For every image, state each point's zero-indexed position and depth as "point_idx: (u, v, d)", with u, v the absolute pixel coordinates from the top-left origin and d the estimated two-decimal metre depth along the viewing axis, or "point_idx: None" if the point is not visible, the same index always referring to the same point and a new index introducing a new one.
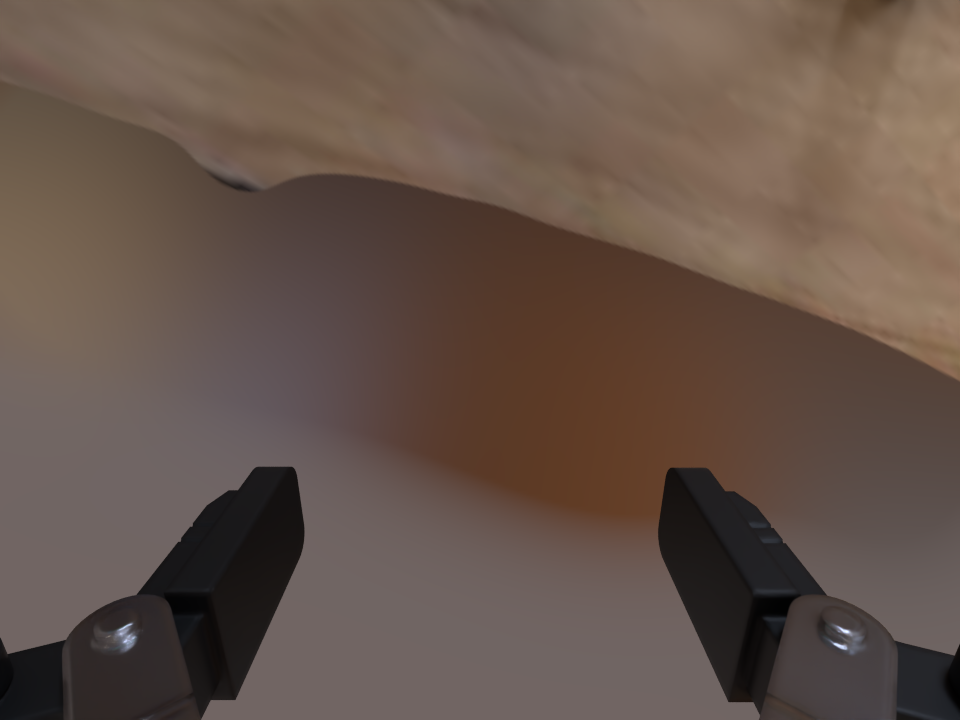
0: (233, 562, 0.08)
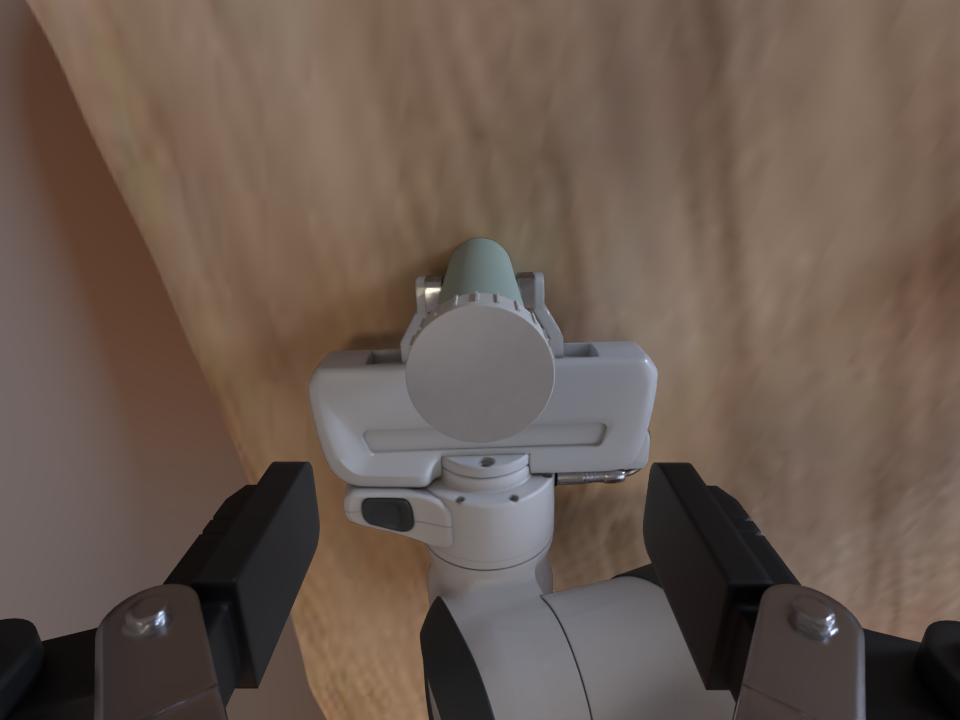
0: (256, 554, 0.09)
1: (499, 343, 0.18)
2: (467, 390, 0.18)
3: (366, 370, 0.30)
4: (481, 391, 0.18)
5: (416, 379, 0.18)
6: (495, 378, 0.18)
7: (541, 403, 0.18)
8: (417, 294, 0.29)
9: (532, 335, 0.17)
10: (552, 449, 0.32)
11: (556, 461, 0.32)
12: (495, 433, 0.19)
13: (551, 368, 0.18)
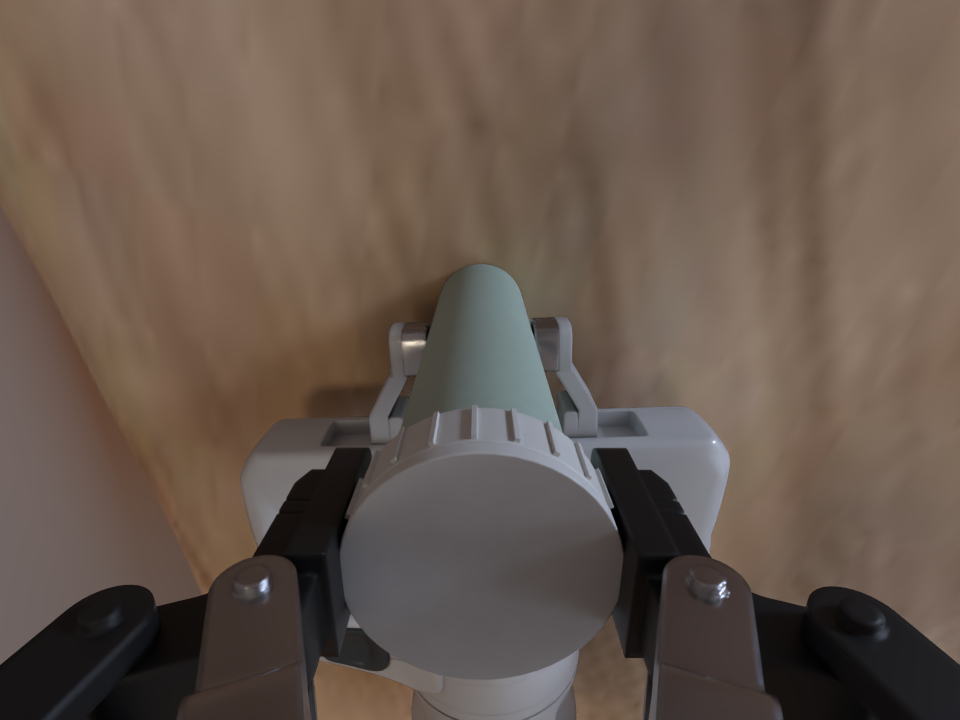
0: (337, 530, 0.09)
1: (519, 520, 0.09)
2: (457, 598, 0.10)
3: (321, 455, 0.21)
4: (483, 600, 0.10)
5: (359, 581, 0.09)
6: (509, 578, 0.09)
7: (597, 618, 0.10)
8: (391, 351, 0.20)
9: (584, 506, 0.09)
10: None
11: None
12: (509, 665, 0.10)
13: (618, 562, 0.09)
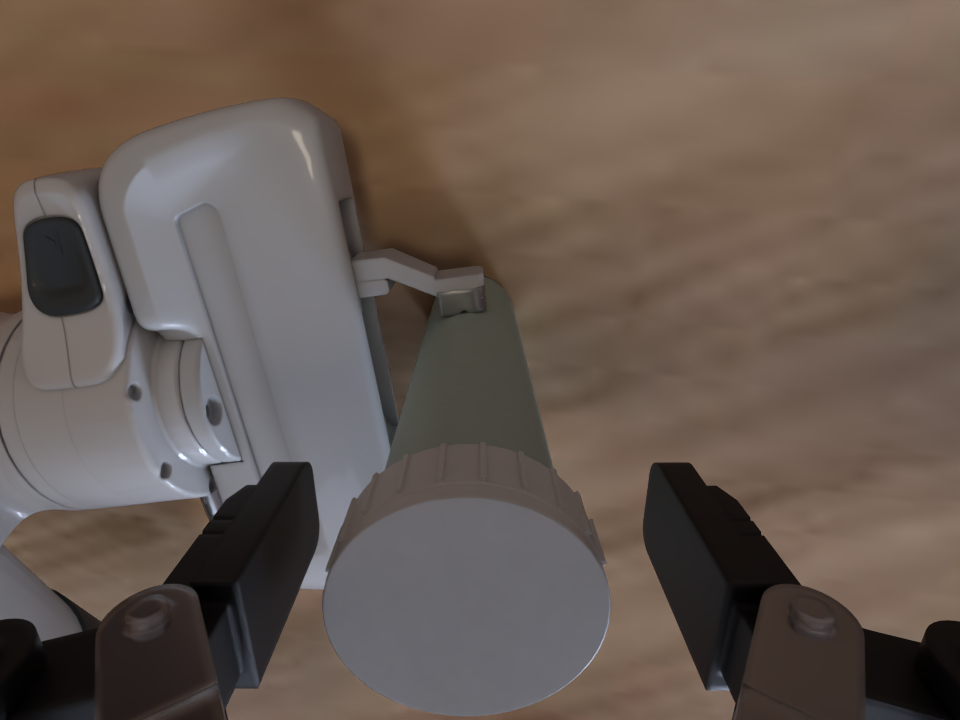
0: (256, 554, 0.09)
1: (472, 554, 0.09)
2: (455, 643, 0.10)
3: (331, 208, 0.18)
4: (480, 636, 0.10)
5: (359, 656, 0.10)
6: (493, 609, 0.09)
7: (598, 618, 0.09)
8: (463, 279, 0.19)
9: (526, 520, 0.09)
10: None
11: None
12: (539, 687, 0.10)
13: (589, 560, 0.09)
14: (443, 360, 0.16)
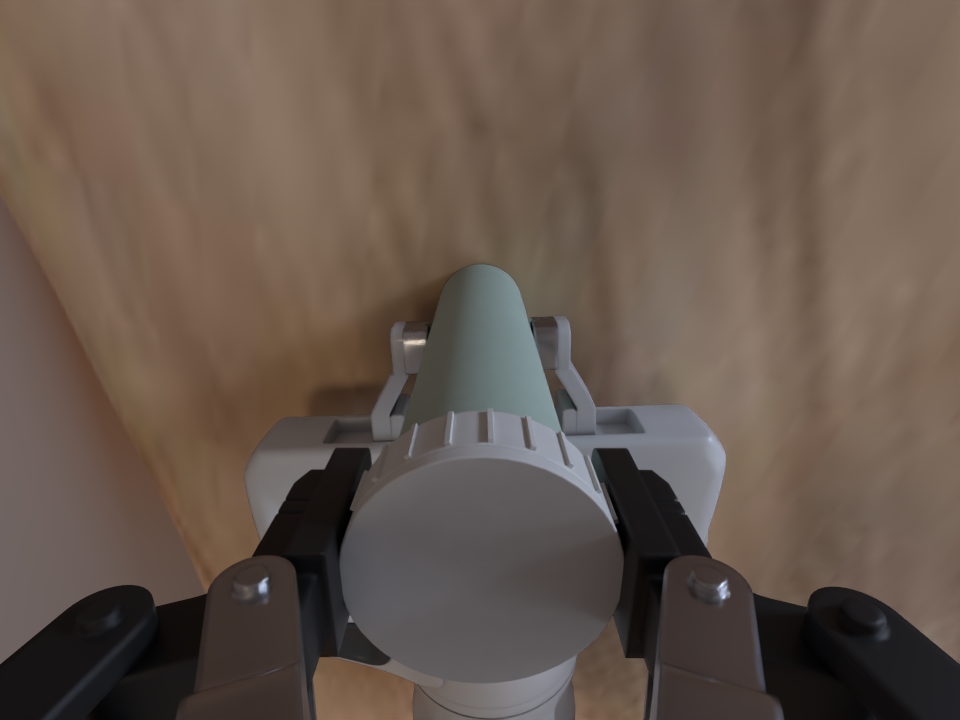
0: (336, 530, 0.09)
1: (403, 571, 0.09)
2: (514, 592, 0.09)
3: (324, 452, 0.22)
4: (508, 572, 0.09)
5: (520, 665, 0.10)
6: (473, 558, 0.09)
7: (496, 467, 0.09)
8: (393, 350, 0.21)
9: (365, 526, 0.09)
10: None
11: None
12: (592, 525, 0.09)
13: (415, 475, 0.09)
14: None
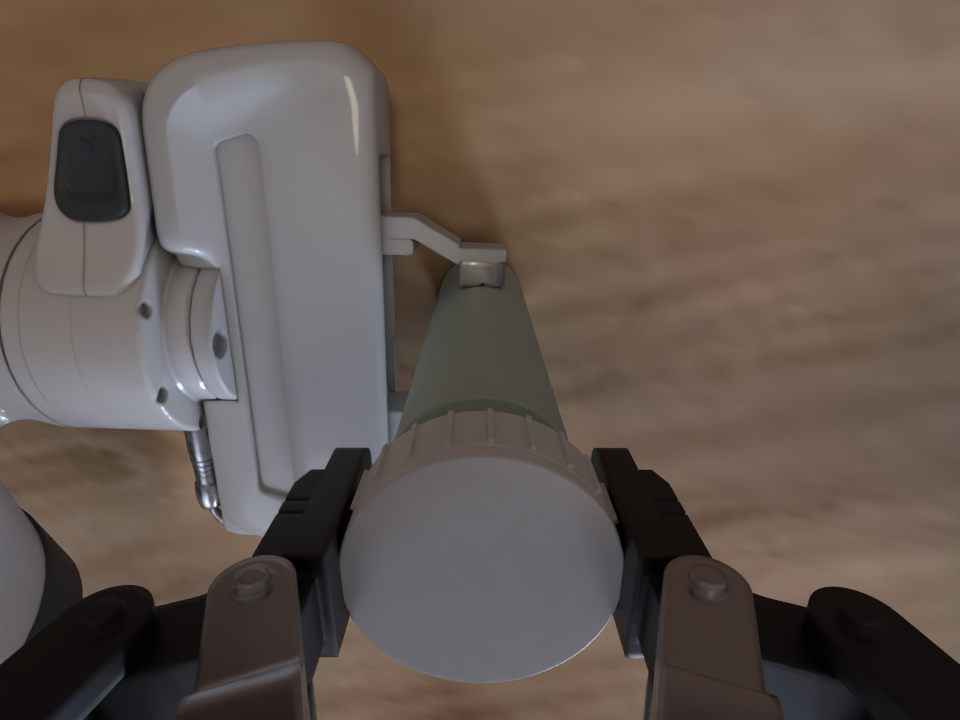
0: (336, 530, 0.09)
1: (403, 570, 0.09)
2: (514, 592, 0.10)
3: (372, 160, 0.18)
4: (508, 572, 0.09)
5: (519, 665, 0.10)
6: (473, 558, 0.09)
7: (496, 467, 0.09)
8: (487, 252, 0.20)
9: (365, 525, 0.09)
10: (248, 431, 0.22)
11: (228, 437, 0.22)
12: (592, 525, 0.09)
13: (416, 475, 0.09)
14: (464, 323, 0.16)
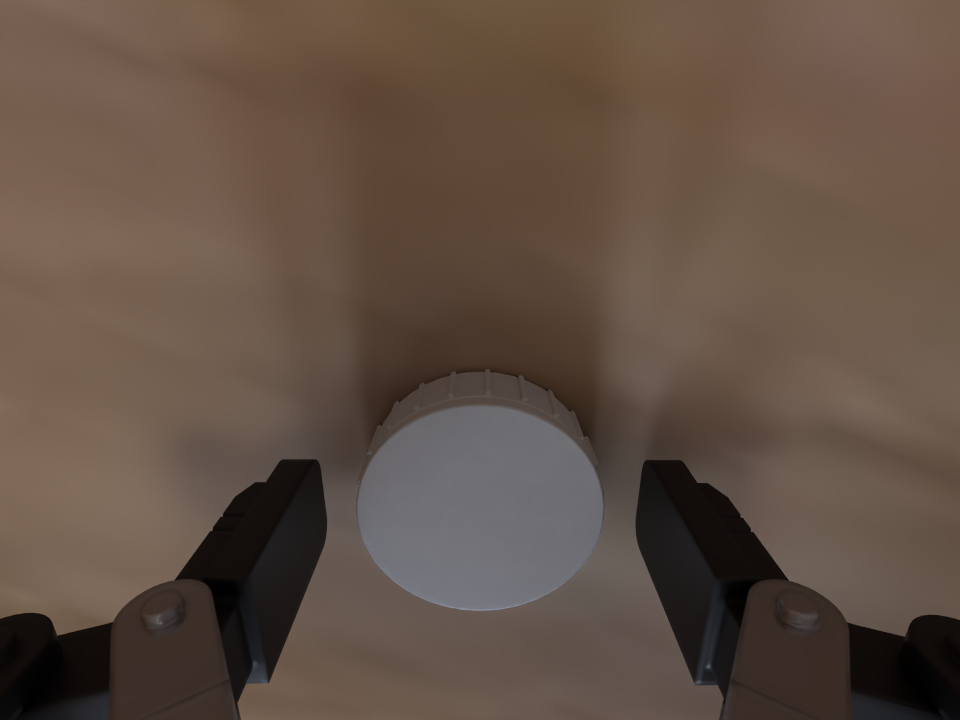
0: (267, 550, 0.09)
1: (413, 507, 0.11)
2: (508, 526, 0.11)
3: None
4: (503, 508, 0.11)
5: (514, 593, 0.12)
6: (473, 496, 0.11)
7: (493, 414, 0.10)
8: None
9: (380, 466, 0.10)
10: None
11: None
12: (575, 466, 0.10)
13: (424, 421, 0.10)
14: None
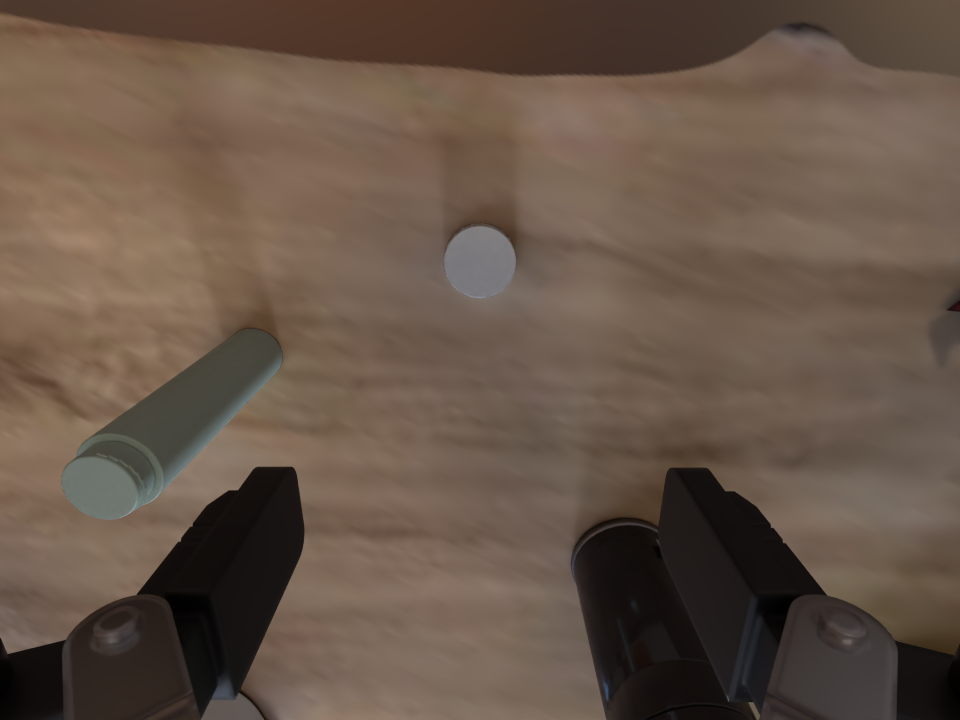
0: (233, 562, 0.08)
1: (460, 259, 0.37)
2: (488, 266, 0.38)
3: None
4: (486, 259, 0.37)
5: (490, 291, 0.38)
6: (478, 255, 0.37)
7: (483, 229, 0.37)
8: None
9: (452, 246, 0.37)
10: None
11: None
12: (506, 245, 0.37)
13: (464, 231, 0.37)
14: (170, 388, 0.30)
